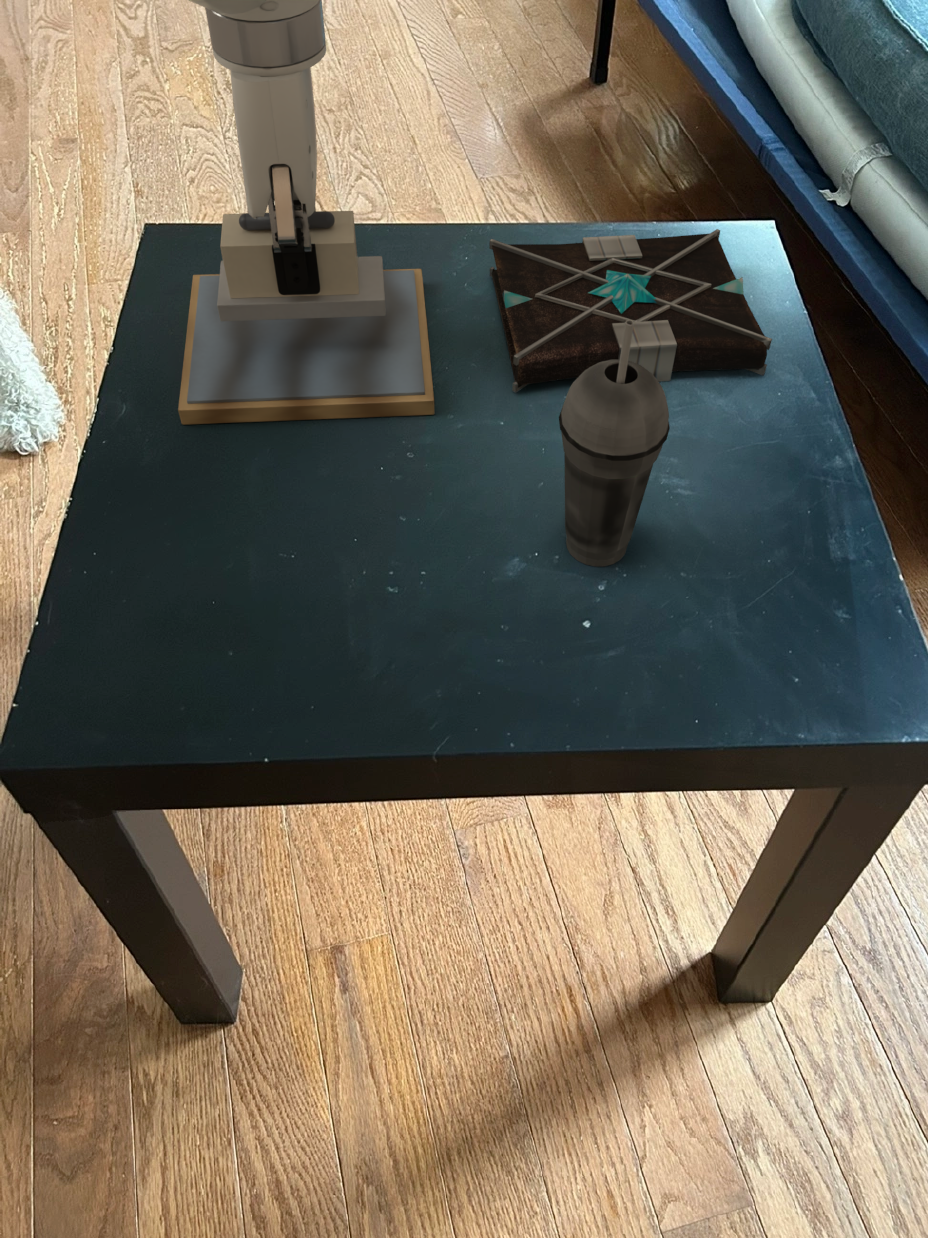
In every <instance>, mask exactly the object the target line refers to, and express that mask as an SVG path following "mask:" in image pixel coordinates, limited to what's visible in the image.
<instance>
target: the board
mask: <svg viewBox="0 0 928 1238" xmlns="http://www.w3.org/2000/svg"><path fill="white" fill-rule="evenodd" d="M383 276H384V293H385V309H386V316H364V317H335V318H305V319H276V320H246V321H220V317H219V312H218V307H217V302H218V290H219V278H220V273H215V274H214V273H212V274H209V273H207V274H193V275H192V281H191V291H190V299H189V300H190V301H189V307H188V308H189V309H188V318H187V325H186V335H185V336H186V337H185V345H184V354H183V363H182V371H181V380H180V389H179V399H178V408H177V412H178V415H179V416H178V417H179V419H180V423H181V425H183V426H185V425H209V424H211V425H212V424H231V423H234V424H235V423H258V422H259V423H261V422H284V421H287V422H288V421H309V420H312V421H313V420H333V419H334V420H335V419H336V420H337V419H359V418H360V419H361V418H362V419H363V418H381V417H383V418H387V417H407V416H409V417H412V416H433V415H435V412H436V411H435V394H434V384H433V383H434V382H433V372H432V363H431V362H432V361H431V352H430V351H431V350H430V341H429V332H428V320H427V310H426V300H425V289H424V279H423V270H422V268H397V269H396V268H395V269H391V268H390V269H383Z"/></svg>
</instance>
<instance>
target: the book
mask: <svg viewBox="0 0 928 1238" xmlns="http://www.w3.org/2000/svg"><path fill="white" fill-rule="evenodd" d="M720 234H721V230H720V229H719V228H716V229H715V230H712V231H711V232H709V233H698V234H686V235H676V236H675V235H674V236H663V237H648V238H636V235H635V234H624V235H607V236H606V235H605V236H604V235H603V236H589V237H586V236H585V237H582V241H581V242H572V243H538V244H537V243H533V244H531V243H529V244H527V243H522V244H520V243H519V244H516V243H514V244H511V243H510V244H508V243H504V242H502V241H499V240H496V239H493V238H491V239H490V240H489V246H488V247H489V250H492V254H493V258H494V263H495V267H494V266H491V267H490V268H489V277H491V278H492V282H493V286H494V287H493V288H494V291H495V296H496V299H497V304H498V309H499V312H500V313H499V314H500V317H501V323H502V327H503V332H504V336H505V340H506V344H507V350H508V354H509V359H510V364H511V369H512V375H513V379H514V381H513V382H512V389H511V391H512V392H514V393H515V394H517V392H519V391H520V390H522V389H523V388H525V387H526V386H528V385H532V384H538V383H539V384H540V383H546V382H555V381H561V380H562V381H563V380H569V379H577V378H578V377H579V376H580V375H581V374H582V373H583V372H584V371H585V370H586V369H588V368H589V367H591V366H593V365H595V364H597V363H600V362H603V361H607V360H614V359H620V354H621V347H622V341H623V334H624V328H625V322H626V321H627V320H632V321H633V322H634V326H633V332H632V339H631V345H630V352H629V358H628V361H632V362H634V363H636V364H639V365H641V366H642V367H644V368H645V369H647V370H648V371H649V372H651V373H652V374H653V375H654V377H655V378H656V379H657V381H658V382H659V383H660V382H670V381H671V378H672V372H673V373H674V372H692V371H721V370H724V371H726V370H747V371H750V372H752V373H754V374H758V375H760V376H764V375H765V374H766V371H767V367H768V364H766V360H767V357H768V351H769V350H770V348H771V346H772V341H773V338H771V337H768V336H765V334H764V332H763V329H762V328H761V326H760V324H759V323H758V321H757V318H756V317H755V315H754V313H753V311H752V309H751V307H750V306H749V303H748V301H747V298H746V297H745V294H744V280H743V278H744V277H743V276H741V277H738V278H736V276H735V274H734V271H733V269H732V266H731V264H730V263H729V261H728V258H727V255H726V254H725V251H724V249H723V248H724V247H722V246H723V245H722V243H721V242H720ZM495 268H496V269H495Z"/></svg>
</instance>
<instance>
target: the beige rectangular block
mask: <svg viewBox="0 0 928 1238" xmlns="http://www.w3.org/2000/svg"><path fill="white" fill-rule="evenodd" d="M354 214H355V213H354V210H319V211H317V210H316V211H314V212H313V214H312V215H310V216H309V227H310V236H311V244H315V247H316V256H317V264H318V272H319V281H320V292H319V293H318V294H307V295H281V294H280V293H279V291H278V285H277V279H276V272H275V266H274V259H273V253H272V245H273V239H272V231H271V223H270V216H269V212H266V213H265V216H264V217H257V219H256V218H253V217H251V216H250V215H249V213H248V212H246V213H223V214H222V222H221V233H220V234H221V235H220V245H219V246H220V252H221V258H222V260H220V265H219V266H220V267H219V268H220V269H219V274H220V278H219V290H218V302H217V307H218V312H219V317H220V321H246V320H276V319H305V318H335V317H364V316H386V309H385V293H384V276H383V270H384V263H383V256H382V255H370V256H369V255H368V256H358V247H357V238H356V225H355V216H354ZM295 225H296V228H300V229H301V232H302V227H301V218H295Z"/></svg>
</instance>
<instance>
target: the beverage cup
mask: <svg viewBox="0 0 928 1238" xmlns="http://www.w3.org/2000/svg"><path fill="white" fill-rule="evenodd" d="M633 326H634V322H633V321H632V320H627V321H626V322H625V328H624V334H623V341H622V347H621V354H620V359H614V360H607V361H603V362H600V363H597V364H595V365H593V366H591V367H589V368H588V369H586V370H585V371H584V372H583V373H582V374H581V375H580V376H579V377H578V378H575V380H574V381H573V382H572V383H571V385H570V386H569V388H568V390H567V393H566V396H565V398H564V402H563V405H562V406H561V410H560V413H559V416H558V423H559V430H560V433H561V441H562V447H563V453H564V454H563V455H564V459H563V460H564V528H565V529H564V530H565V536H566V538H565V543H566V549H567V551H568V553H569V554H570V556H572V558H574V559H575V560H576V561H577V562H579V563H581V564H583V565H585V566H590V567H594V568H595V567H607V566H611V565H614V564H616V563H617V562H619V561H621V560H622V559H623V557H624V556H625V555H626V552H627V548H628V547H629V544H630V541H632V536H633V533H634V529H635V526H636V523H637V520H638V517H639V516H638V515H639V513H640V510H641V506H642V504H643V499H644V496H645V493H646V489H647V486H648V483H649V480H650V477H651V473H652V470H653V467H654V464H655V462H656V461H657V460H658V458H659V456H660V453H661V452H662V448H663V446H664V444H665V443H666V441H667V440H668V436H669V433H670V430H671V429H670V427H671V426H670V421H669V419H670V413H669V412H670V411H669V406H668V400H667V397H666V392H665V390H664V389H663V386H662V385H661V383H660V381H659V382H658V381H657V379H656V378H655V377H654V375H653V374H652V373H651V372H649V371H648V370H647V369H645V368H644V367H642V366H641V365H639V364H636V363H634V362H632V361H628V358H629V352H630V345H631V339H632V332H633Z"/></svg>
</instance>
